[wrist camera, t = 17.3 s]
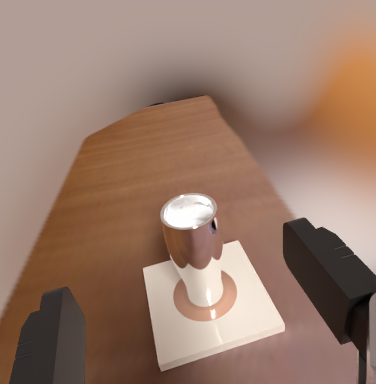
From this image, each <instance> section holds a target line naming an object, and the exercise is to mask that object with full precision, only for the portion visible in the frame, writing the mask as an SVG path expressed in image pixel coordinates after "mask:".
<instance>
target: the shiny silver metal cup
mask: <svg viewBox="0 0 376 384" xmlns="http://www.w3.org/2000/svg"><path fill="white" fill-rule="evenodd" d="M160 218H161V221H162V228H163V234H164V239H165V243H166V246H167V249H168V253H169V255H170V257H171V259H172V261H173V263H174V265H175V267H176V269H177V271H178V272H179V274H180V276H181V278H182V280H183V295H184V299H185V302H186V303H187V305H188V306H189V307H191V308H192V309H194V310H197V311H211V310H214V309H216V308H217V307H219V306H220V305H221V304H222V303H223V302H224V300H225V298H226V295H227V288H226V285H225V283H224V280H223V278H222V275H221V265H222V256H223V235H222V228H221V223H220V219H219V215H218V211H217V205H216V203H215V201H214V200H213V199H212V198H211V197H209V196H207V195H204V194H200V193H188V194H183V195H180V196H177V197H175V198H173V199H171V200H169V201H168V202H167V203H166V204H165V205H164V206H163V208H162V209H161V212H160Z"/></svg>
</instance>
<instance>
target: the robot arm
mask: <svg viewBox="0 0 376 384" xmlns="http://www.w3.org/2000/svg"><path fill="white" fill-rule="evenodd" d="M283 256H284V259H285V262H286V264H287V266H288V268H289V270H290V271H291V272H292V274H293V275H294V277H295V278H296V280H297V281H298V283H299V284H300V286H301V287H302V289H303V290H304V292H305V293H306V294H307V296H308V297H309V299H310V300H311V302H312V303H313V305H314V306H315V308H316V309H317V311H318V312H319V314H320V315H321V316H322V318H323V319H324V321H325V322H326V324H327V325H328V327H329V328H330V330H331V331H332V333H333V334H334V336H335V337H336V338H337V340H338V341H339V343H340V344H341V345H342V344H345V343H348V342H351V341H352V342H353V343H354V345H355V346H356V348H357V349H358V350H357V369H356V384H376V275H375V274H373V272H372V271H371V270H370V269H369V268H368V267H367V266H366V265H365V264H364V263H363V262H362V261H361V260H360V259H359V258H358V257H357V256H356V255H354V253H353V251H352V250H351V249H350V248H349V247H347V246H346V244H345V243H344V242H343V241H342V240H341V239H340V238H339V237H338V236H337V235H336V234H334V233H333V232H331V231H329V230H327V229H325V228H323V227H320V228H317V229H315V227H314V226H313V225H312V224H311V223H310V222H309V221H308V220H307V219H306V218H300V219H297V220H293V221H290V222H286V223H284V225H283ZM85 353H86V322H85V318H84V315H83V312H82V310H81V309H80V307H79V305H78V303H77V302H76V300H75V298H74V296H73V295H72V293H71V291H70V289H69V288H68V287H62V288H59V289H55V290H52V291H49V292H45V293H44V294H43V295H42V299H41V305H40V310H39V311H36V312H33V313H31V314H30V315H29V317H28V319H27V320H26V322H25V323H24V325H23V327H22V328H21V333H20V337H19V342H18V347H17V351H16V356H15V358H16V360H15V361H14V365H13V369H12V374H11V378H10V383H9V384H85Z"/></svg>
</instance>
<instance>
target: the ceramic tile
mask: <svg viewBox="0 0 376 384" xmlns="http://www.w3.org/2000/svg"><path fill="white" fill-rule="evenodd" d="M143 273H144V279H145V285H146V291H147V297H148V303H149V309H150V315H151V321H152V328H153V334H154V340H155V346H156V352H157V358H158V364H159V367H160V370H161V372H162V371H165V370H168V369H171V368H174V367H177V366H180V365H183V364H186V363H189V362H192V361H195V360H198V359H201V358H204V357H207V356H210V355H213V354H216V353H219V352H222V351H225V350H229V349H232V348H235V347H238V346H241V345H244V344H247V343H250V342H253V341H256V340H259V339H262V338H265V337H268V336H271V335H274V334H277V333H280V332H283V331H285V324H284V322H283V320H282V318H281V316H280V315H279V313H278V311H277V309H276V308H275V306H274V304H273V302H272V300H271V299H270V297H269V295H268V293H267V291H266V290H265V288H264V286H263V284H262V282H261V281H260V279H259V277H258V275H257V273H256V272H255V270H254V268H253V266H252V264H251V263H250V261H249V259H248V257H247V256H246V254H245V252H244V250H243V248H242V247H241V245H240V243H239V241H238V240H237V241H233V242H230V243H227V244H223V256H222V265H221V275H222V278H223V280H224V283H225V285H226V288H227V295H226V298H225V300H224V302H223V303H222V304H221V305H220V306H219V307H217V308H216V309H214V310H211V311H197V310H194V309H192V308H191V307H189V306H188V305H187V303H186V302H185V299H184V295H183V280H182V278H181V276H180V274H179V272H178V271H177V269H176V267H175V265H174V263H173V261H172V260H169V261H166V262H162V263H159V264H155V265H152V266H149V267H145V268H143Z"/></svg>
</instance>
